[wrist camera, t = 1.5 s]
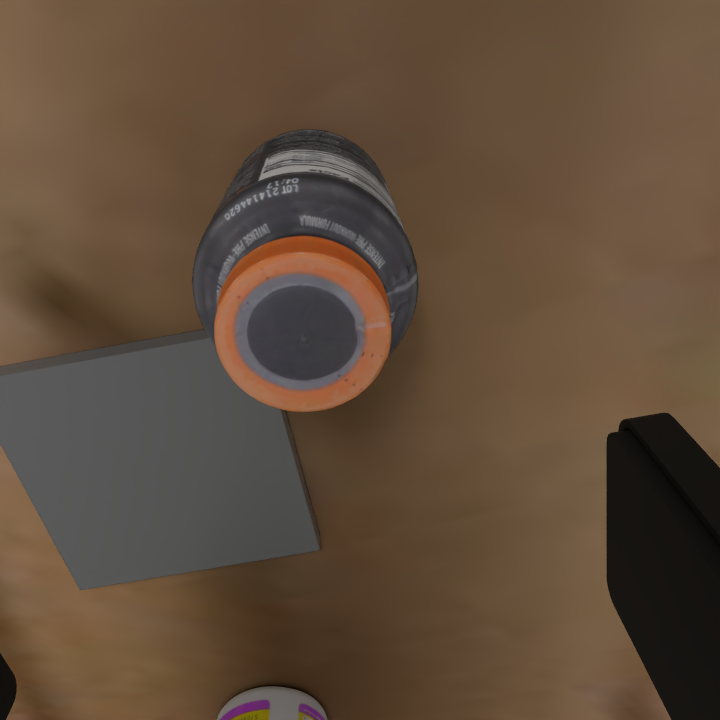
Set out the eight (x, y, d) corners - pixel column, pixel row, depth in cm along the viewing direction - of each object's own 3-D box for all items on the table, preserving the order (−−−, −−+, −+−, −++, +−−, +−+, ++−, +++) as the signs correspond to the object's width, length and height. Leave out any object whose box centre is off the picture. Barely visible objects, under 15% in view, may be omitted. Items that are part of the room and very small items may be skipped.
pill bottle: (296, 310, 26) (276, 490, 16) (198, 190, 24) (103, 314, 14) (420, 227, 25) (483, 368, 15) (329, 91, 22) (332, 146, 12)
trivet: (-22, 370, 27) (-34, 382, 26) (260, 319, 26) (257, 329, 25) (86, 574, 32) (80, 590, 31) (319, 535, 32) (319, 550, 31)
